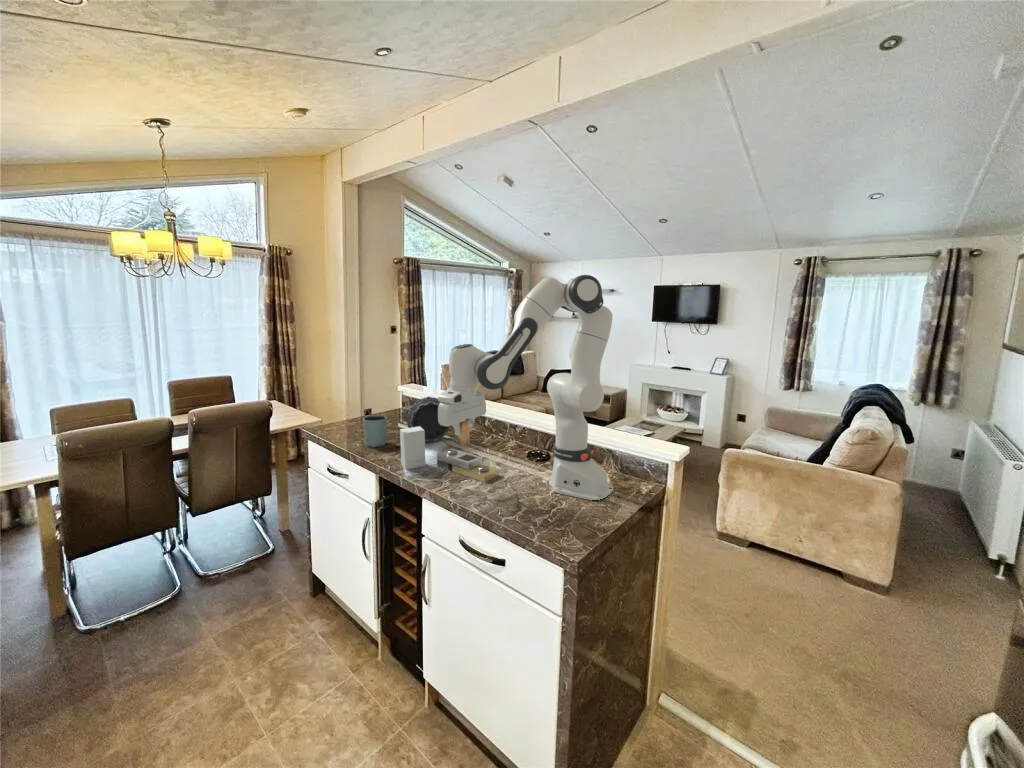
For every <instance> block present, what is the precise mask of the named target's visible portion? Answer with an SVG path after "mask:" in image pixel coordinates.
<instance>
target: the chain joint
mask: <svg viewBox="0 0 1024 768" xmlns="http://www.w3.org/2000/svg"><path fill="white" fill-rule="evenodd" d="M436 453H437V452H436ZM436 457H437V458H436V459H437V460H436V462H437V464H436V465H437V466H436V467H439V468H441V469H445V470H451V471H452V472H454V473H457V474H459V475H462V476H466V477H468V478H471V479H473V480H474V479H475V480H478V481H480V482H482V483H485V482H488V481H490V480H493V479H495V478H497V477H498V476H499V474H500V469H498V468H497V467H496V468H495V467H493V466H490V465H486V464H484V463H483V457H482V456H478V455H475V454H472V453H468V452H465V451H462V450H458V449H456V448H449V449H446V450H444V451H443V450H442V451H441V452H438V453H437V454H436Z"/></svg>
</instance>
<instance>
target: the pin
mask: <svg viewBox="0 0 1024 768" xmlns="http://www.w3.org/2000/svg"><path fill="white" fill-rule="evenodd" d="M458 427H459V429H460V430H462V432H461V433H462V434H461V435H459V436H457V443H458V445H459V446H468V445H469V444H471V433H470V432H471V431H470V421H469V418H468V419H466V420H465V421H463V422H460V423H459V426H458Z"/></svg>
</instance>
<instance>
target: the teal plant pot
mask: <svg viewBox="0 0 1024 768" xmlns="http://www.w3.org/2000/svg"><path fill="white" fill-rule="evenodd" d="M387 421H388V417H387V416H386V415H382V414H381V415H379V414H373V415H366V416H364V417H363V418H362V424H363V429H364V430H363V433H364V435H363V436H364V444H365V447H367V446H372V447H371V448H376V447H375V446H380V447H383V446H385V445H386V440H387V439H386V435H387V423H388V422H387ZM382 445H383V446H382Z"/></svg>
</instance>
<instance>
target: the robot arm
mask: <svg viewBox="0 0 1024 768" xmlns="http://www.w3.org/2000/svg"><path fill="white" fill-rule="evenodd" d="M560 308H561V309H563V310H566V311H568V312H571V313H577V314H578V315H579V321H578V326H577V329H576V332H575V334H574V337H573V339H572V344H571V347H570V350H569V354H568V355H569V358H570V361H571V370H570V372H559V373H555V374H553V375H552V376H550V377H549V379H548V381H547V384H546V390H547V394H548V396H549V397H550V400H551V403H552V408H553V413H554V420H555V443H554V445H553V466H552V469H551V475H550V478H549V481H548V484H549V486H550V487H551V488H552V491H553V492H554V493H557V494H561V495H564V496H565V495H566V496H570V497H575V498H579V499H585V500H588V501H592V500H599V501H601V500H600V499H603V498H605V497H607V496H608V495H609V494H610V493H611V492H612V491H613V492H614V486H613V487H611V488H612V489H609V487H610V486H608V485H607V484H608V478H607V473H606V471H605V470H604V469H603V468H602V467H601V466H600V465H599V464H598V463H597V462H596V461H595V460H594V459H593V458H592V455H593V454H594V451H595V450H594V449H592V450H590V449H589V446H588V437H589V436H588V435H589V423H588V421H587V420H586V418H585V415H584V412H585V413H586V412H587V413H592V412H595V411H597V410H598V409H599V408H600V407H601V406H602V404H603V402H604V398H605V395H604V394H605V393H604V390H603V387H602V385H601V365H602V362H603V361H602V360H603V358H604V354H605V350H606V347H607V344H608V341H609V338H610V335H611V330H612V325H613V324H612V323H613V313H612V311H611V309H610V308H609V307H607V306H605V305H604V298H603V290H602V285H601V282H600V281H599V280H598V279H597V278H596V277H594V276H593V275H589V274H581V275H578V276H576V277H575V278H572V279H571V280H570V281H568V282H567V283H562V282H560V281H559V280H558V279H556V278H554V277H552V276H551V277H550V276H549V277H545V278H542V279H541V281H539V282H537V283H536V285H535V286H534V287H533V288H531V290H530V291H529V292H528V293H527V294H526V295H525V296H524V298H523V299H522V300H521V301H520V304H519V305H518V306H517V308H516V310H515V312H514V315H513V318H514V325H513V329H512V332H511V333H510V335H509V336H508V337H507V339H506V341H505V342H504V343H503V344H502V345H501V347H500V348H499V349H498V351H497V352H496V353H490V352H487V351H484V350H482V349H479V348H477V347H476V346H474V344H471V343H464V344H460V345H456V346H454V347H452V349H451V350H450V352H449V359H448V373H449V376H450V381H449V387H448V388H446V389H445V390H444V391H443V392H441V393H440V394H439V395H438V396H437V399H438V401H440V404H439V406H438V422H439V424H440V425H442V426H446V427H447V426H452V428H453V430H454V435H455V436H457V437H458V436H459V435H461V434H462V433H461V432H462V430H460V429H459V427H458V426H459V423H460V422H463V421H465V420H466V419H468V418H469V421H470V432H472V431H473V425H474V424H475V421H476V418H479V417H482V416H485V415H486V413H487V404H486V402H487V401H486V397H485V392H484V391H483V390H482V389H480V388H478V389H477V383H478V382H479V383H480V385H481V386H483V388H485V389H487V390H499V389H501V388H504V386H505V385H506V384H507V383H508V381H509V379H510V376H511V372H512V369H513V367H514V365H515V363H516V362H517V360H518V359H519V358H520V356H521V355H522V354H523V353H524V351H525V349H526V348H527V347H528V346H529V344H530V342H531V341H532V340H533V339H534V337H536V335H537V334H538V333H539V332H540V331H541V330H542V329H543V328H544V326H545V325H546V324H547V323H548V322H549V321H550V320H551V318H552V317H553V315H555V314H556V312H557V311H558V310H559V309H560ZM608 497H609V496H608ZM608 497H607V498H608ZM605 499H606V498H605ZM603 500H604V499H603Z"/></svg>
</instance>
